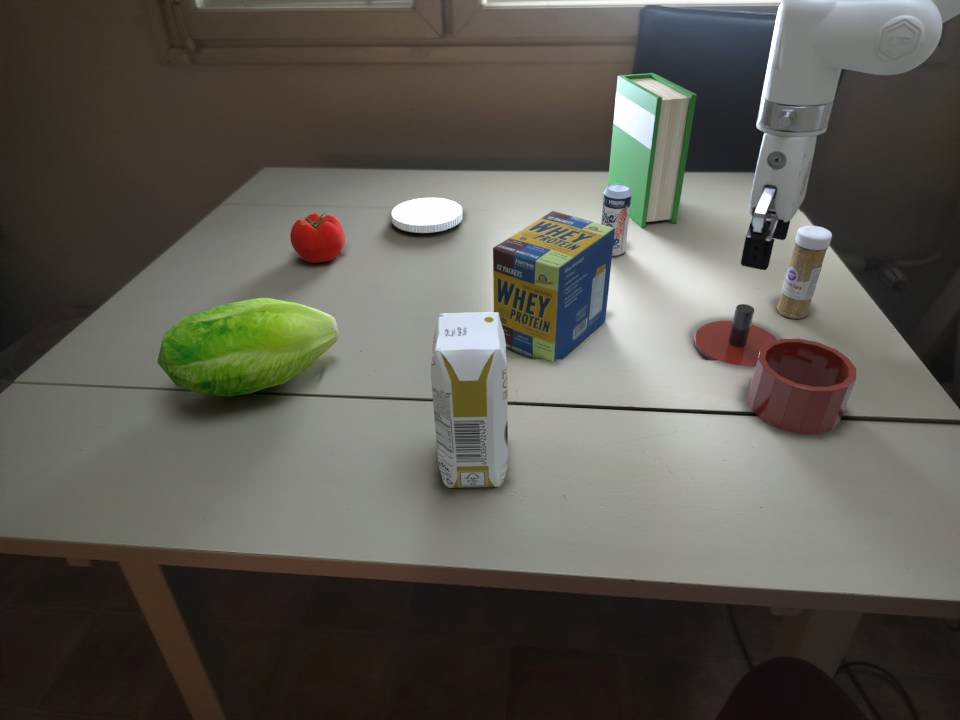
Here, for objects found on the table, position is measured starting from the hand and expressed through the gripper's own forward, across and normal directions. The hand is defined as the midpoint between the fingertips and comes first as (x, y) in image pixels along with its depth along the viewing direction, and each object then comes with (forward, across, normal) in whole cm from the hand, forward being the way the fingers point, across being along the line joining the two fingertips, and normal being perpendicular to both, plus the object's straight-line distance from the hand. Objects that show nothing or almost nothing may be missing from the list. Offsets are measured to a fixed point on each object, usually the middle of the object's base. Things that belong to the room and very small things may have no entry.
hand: (763, 251), depth 86 cm
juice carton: (+15, -40, +20) cm, 47 cm away
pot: (+15, -11, -9) cm, 21 cm away
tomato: (+14, -9, +73) cm, 75 cm away
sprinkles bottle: (+16, +14, -4) cm, 21 cm away
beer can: (+15, +20, +28) cm, 38 cm away
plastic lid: (+14, +13, +65) cm, 68 cm away
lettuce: (+14, -41, +54) cm, 69 cm away
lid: (+15, 0, +1) cm, 15 cm away
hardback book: (+15, +41, +32) cm, 54 cm away
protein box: (+15, -10, +25) cm, 31 cm away
